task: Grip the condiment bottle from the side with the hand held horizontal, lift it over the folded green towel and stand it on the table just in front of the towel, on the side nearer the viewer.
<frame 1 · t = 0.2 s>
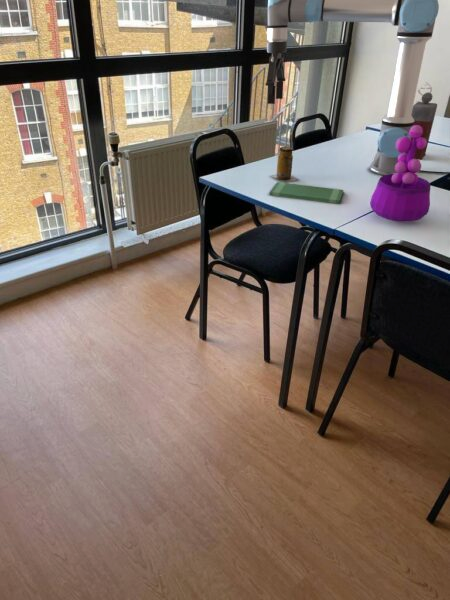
hand: (275, 101, 186), 27 cm above the table, tool pointing down, fingers open, 13 cm apart
dna model: (411, 148, 232), on the table
towel: (306, 193, 174), on the table
condiment: (284, 178, 190), on the table
glass decanter: (413, 156, 220), on the table
decorative plant: (396, 217, 156), on the table
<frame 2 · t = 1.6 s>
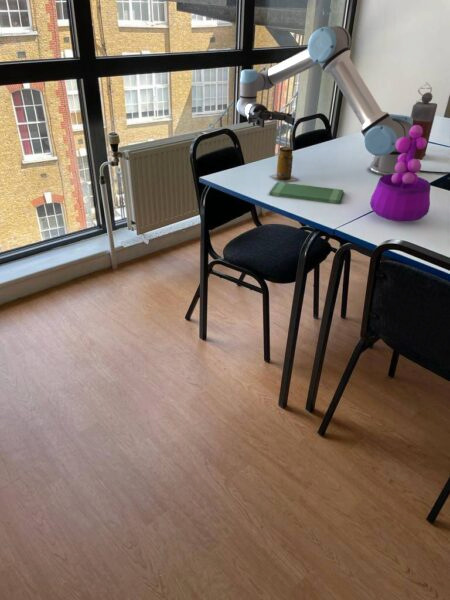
hand: (278, 122, 185), 20 cm above the table, tool horizontal, fingers open, 13 cm apart
nothing on the table moved.
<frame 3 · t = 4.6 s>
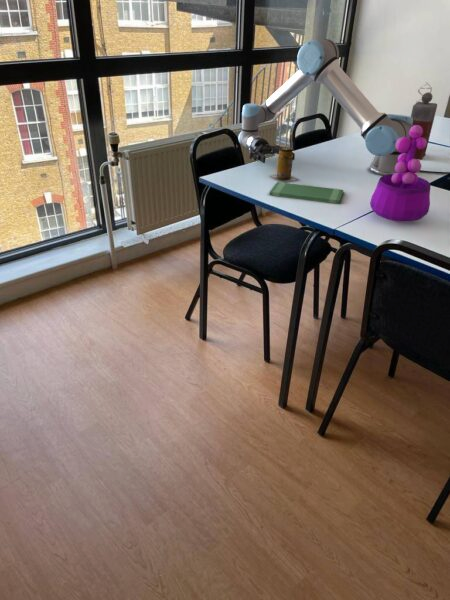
hand: (279, 158, 190), 7 cm above the table, tool horizontal, fingers open, 13 cm apart
nothing on the table moved.
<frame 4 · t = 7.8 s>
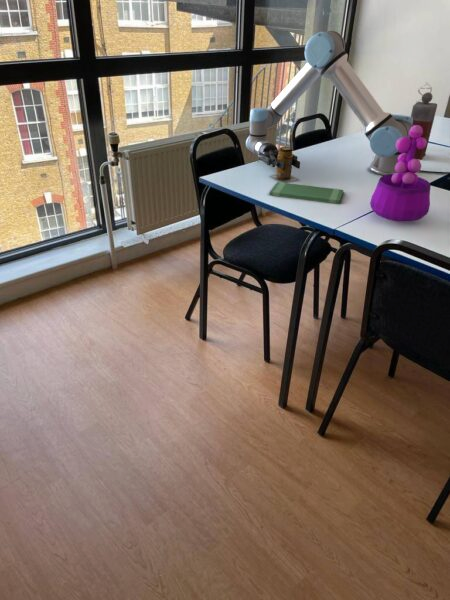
hand: (291, 166, 182), 7 cm above the table, tool horizontal, fingers closed on condiment, 6 cm apart
condiment: (284, 178, 190), on the table, touching gripper
everything else where it was.
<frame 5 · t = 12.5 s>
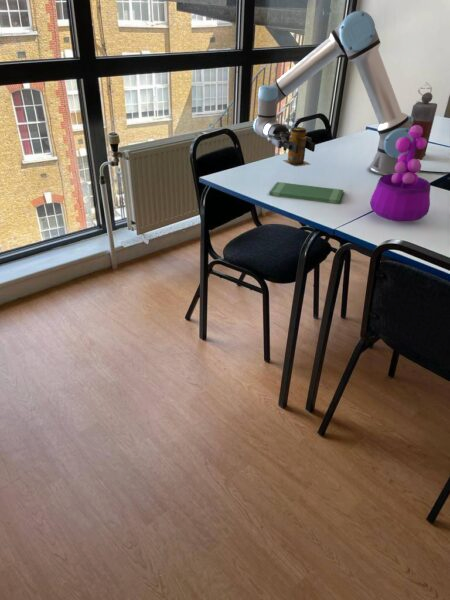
hand: (305, 148, 161), 18 cm above the table, tool horizontal, fingers closed on condiment, 6 cm apart
condiment: (296, 163, 169), point 11 cm above the table, touching gripper
everything else where it was.
when the fingers open (6 cm above the table, at t = 17.5 s): condiment stays where it is, on the table.
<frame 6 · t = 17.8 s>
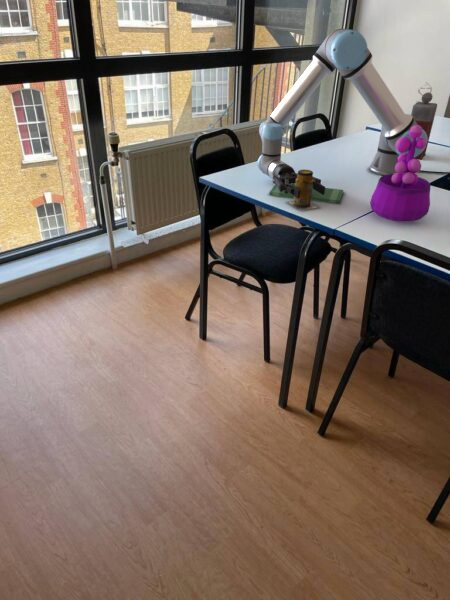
hand: (311, 192, 158), 6 cm above the table, tool horizontal, fingers open, 9 cm apart
condiment: (302, 205, 165), on the table
everything else where it was.
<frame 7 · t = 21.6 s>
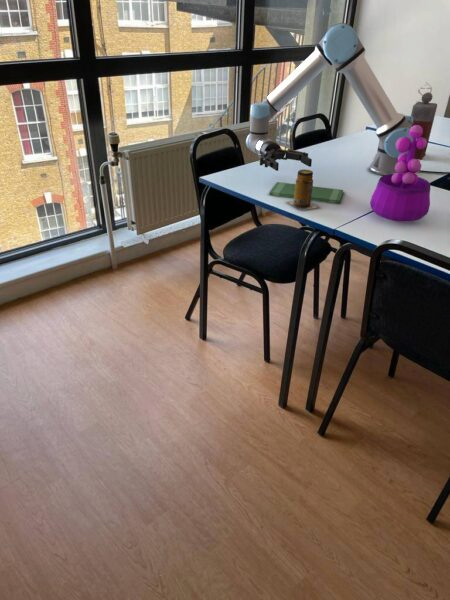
hand: (294, 165, 167), 11 cm above the table, tool horizontal, fingers open, 13 cm apart
nothing on the table moved.
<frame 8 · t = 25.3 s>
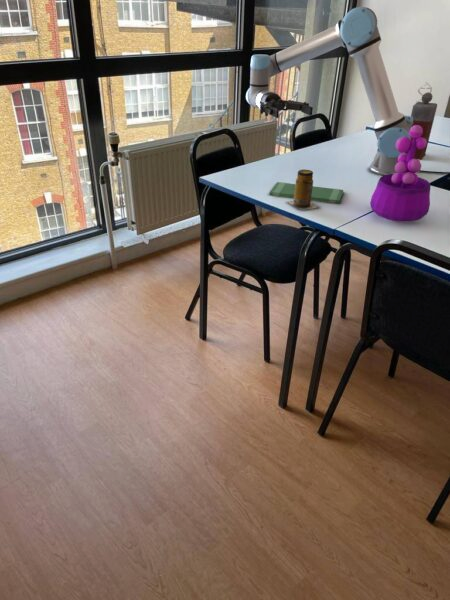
hand: (294, 112, 164), 28 cm above the table, tool horizontal, fingers open, 13 cm apart
nothing on the table moved.
at the end: condiment inside the target area on the table beside the towel (1.3 cm from its centre), on the table; condiment tilted 0°; the gripper is holding nothing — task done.
